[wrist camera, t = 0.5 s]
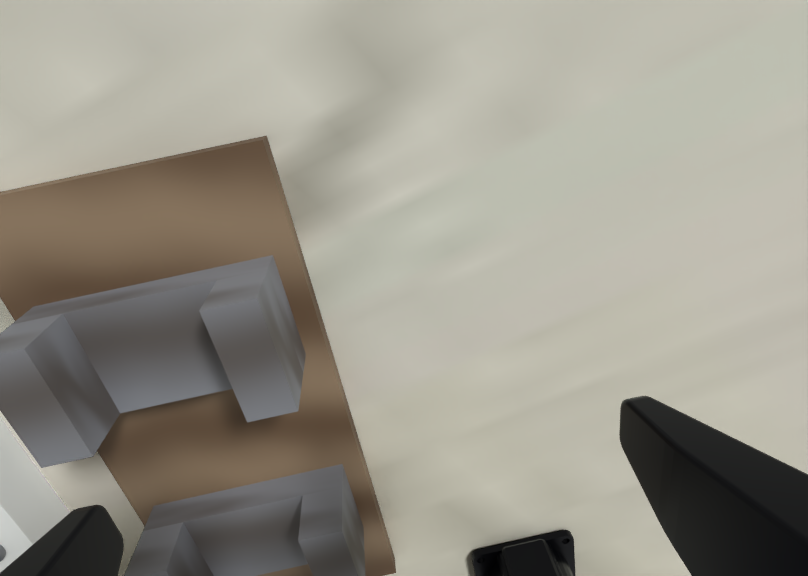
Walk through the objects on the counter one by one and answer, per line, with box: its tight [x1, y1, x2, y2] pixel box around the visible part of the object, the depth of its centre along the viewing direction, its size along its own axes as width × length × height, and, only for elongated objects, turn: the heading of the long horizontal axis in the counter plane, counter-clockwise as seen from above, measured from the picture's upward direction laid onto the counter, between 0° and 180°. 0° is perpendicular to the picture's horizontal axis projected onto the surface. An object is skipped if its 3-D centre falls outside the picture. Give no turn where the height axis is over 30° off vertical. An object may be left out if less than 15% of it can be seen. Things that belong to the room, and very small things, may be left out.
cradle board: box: [0, 136, 396, 576], centre depth 22 cm, size 26×12×5 cm, turn 11°
